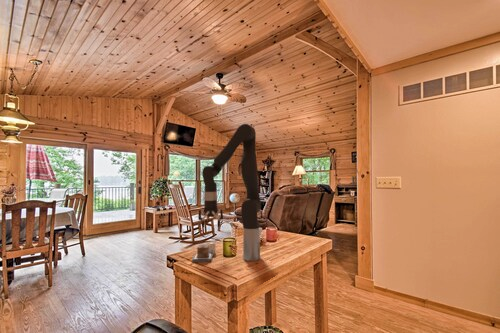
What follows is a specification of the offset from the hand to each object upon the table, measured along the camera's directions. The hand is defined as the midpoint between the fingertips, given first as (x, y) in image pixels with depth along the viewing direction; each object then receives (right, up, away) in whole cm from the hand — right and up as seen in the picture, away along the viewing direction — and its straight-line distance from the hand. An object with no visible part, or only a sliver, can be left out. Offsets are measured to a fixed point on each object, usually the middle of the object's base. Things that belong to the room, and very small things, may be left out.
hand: (210, 226), depth 144 cm
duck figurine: (+29, -17, +24) cm, 41 cm away
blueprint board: (-3, -16, -8) cm, 18 cm away
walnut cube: (-3, -14, -8) cm, 17 cm away
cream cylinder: (+1, -16, +1) cm, 16 cm away
